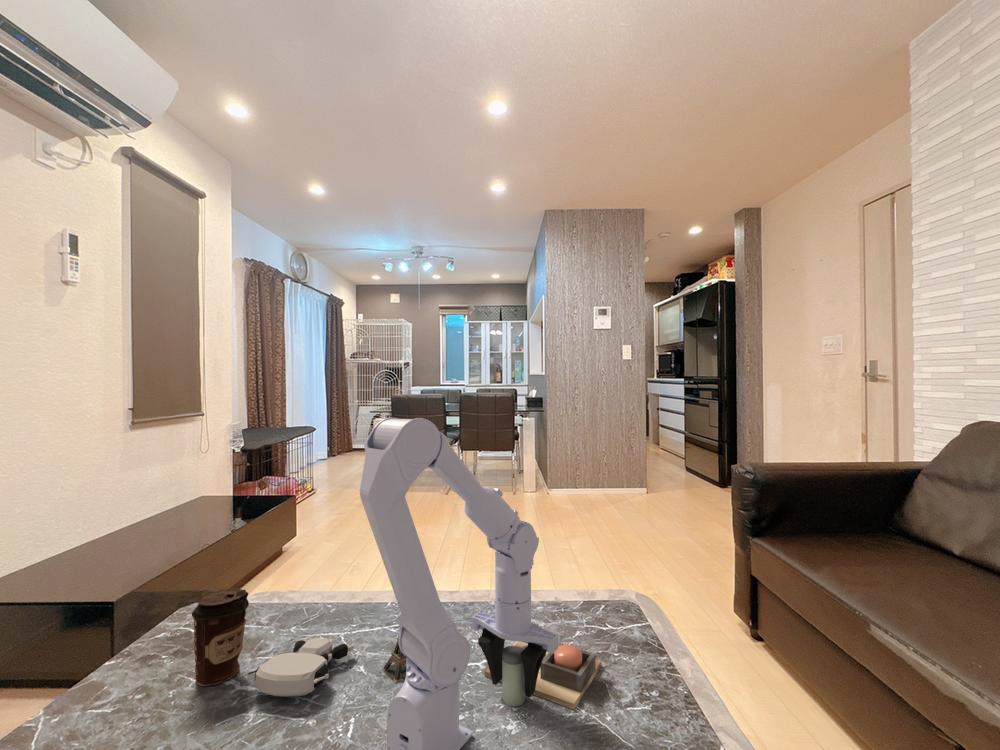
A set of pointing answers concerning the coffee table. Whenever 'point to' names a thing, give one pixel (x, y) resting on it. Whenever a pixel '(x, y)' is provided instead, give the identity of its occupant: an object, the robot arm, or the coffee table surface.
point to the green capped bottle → (512, 676)
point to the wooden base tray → (562, 678)
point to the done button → (568, 657)
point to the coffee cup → (219, 635)
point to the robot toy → (298, 668)
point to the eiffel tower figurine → (396, 665)
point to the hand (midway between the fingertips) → (513, 687)
